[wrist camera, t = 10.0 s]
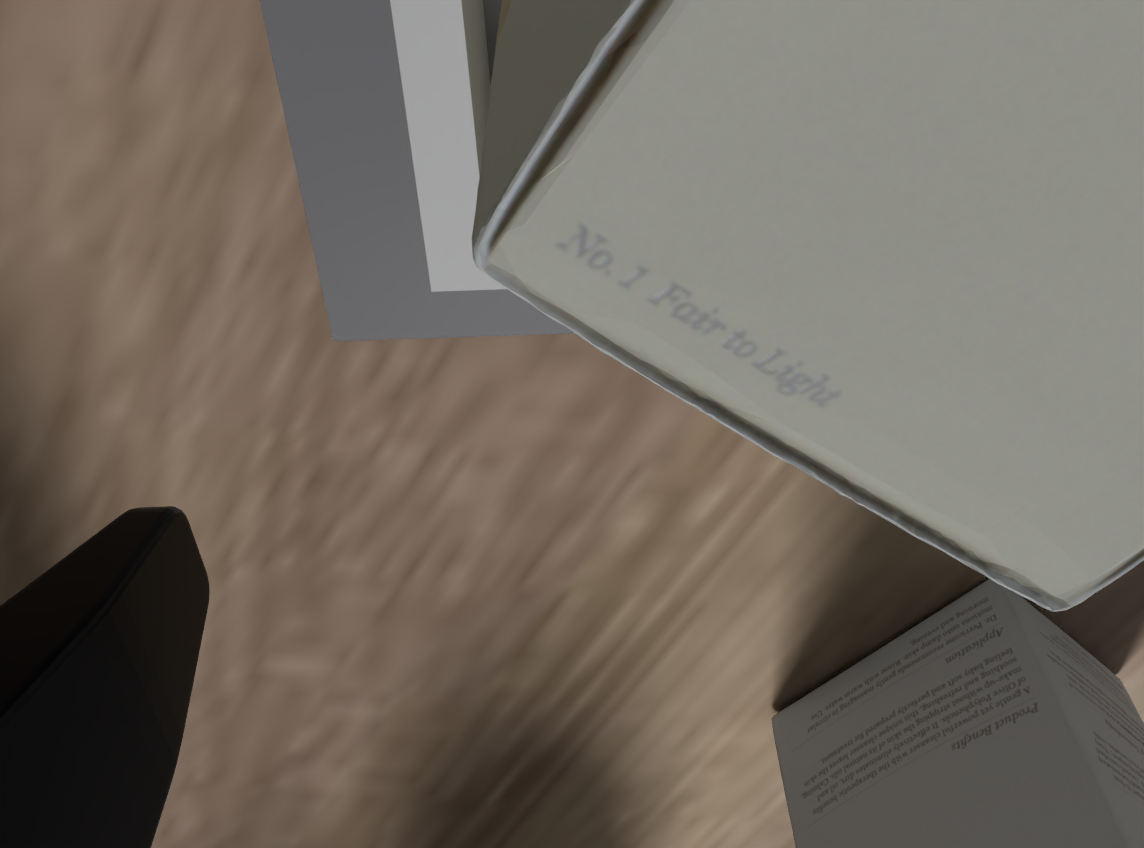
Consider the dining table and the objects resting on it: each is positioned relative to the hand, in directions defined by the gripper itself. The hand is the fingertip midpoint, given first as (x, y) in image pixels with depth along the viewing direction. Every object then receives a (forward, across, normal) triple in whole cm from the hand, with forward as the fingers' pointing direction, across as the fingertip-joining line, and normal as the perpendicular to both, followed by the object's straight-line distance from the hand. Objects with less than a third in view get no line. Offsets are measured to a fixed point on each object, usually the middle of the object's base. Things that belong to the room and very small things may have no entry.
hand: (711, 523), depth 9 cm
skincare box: (+12, -2, -3) cm, 12 cm away
